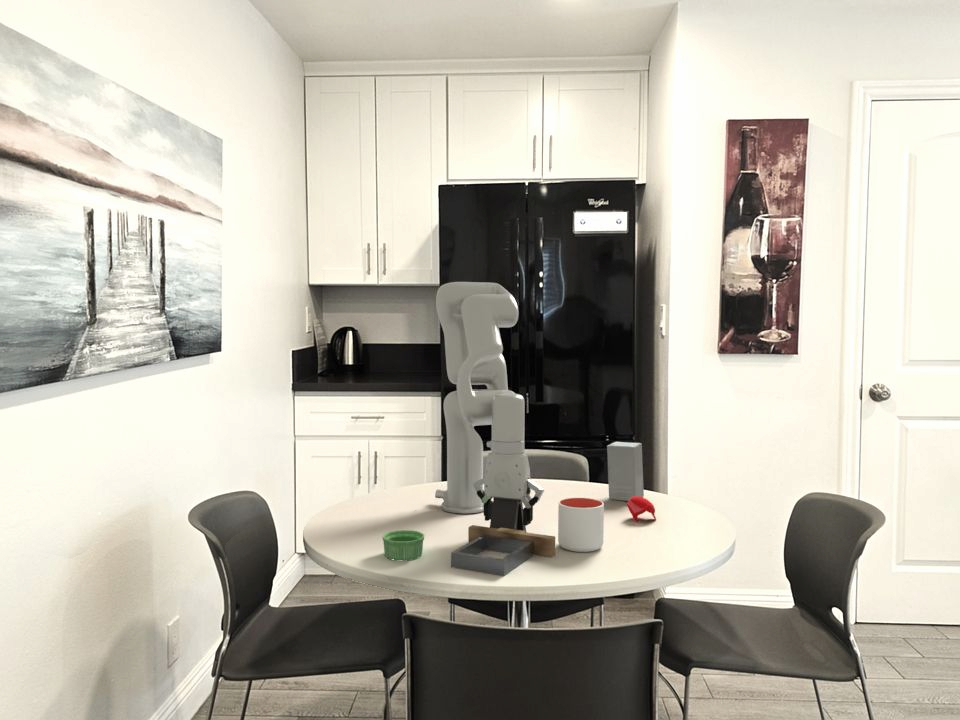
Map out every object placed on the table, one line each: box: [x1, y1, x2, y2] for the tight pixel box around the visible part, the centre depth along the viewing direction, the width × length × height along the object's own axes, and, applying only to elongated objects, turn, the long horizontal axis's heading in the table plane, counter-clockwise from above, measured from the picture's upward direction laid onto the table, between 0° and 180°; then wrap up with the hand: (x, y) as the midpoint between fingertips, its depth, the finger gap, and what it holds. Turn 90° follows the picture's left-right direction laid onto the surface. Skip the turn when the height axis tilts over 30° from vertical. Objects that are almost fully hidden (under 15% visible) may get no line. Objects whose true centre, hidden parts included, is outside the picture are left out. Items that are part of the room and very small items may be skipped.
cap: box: [626, 496, 657, 523], centre depth 199 cm, size 8×6×6 cm
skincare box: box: [606, 441, 645, 502], centre depth 221 cm, size 8×7×16 cm
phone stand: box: [489, 497, 527, 532], centre depth 182 cm, size 9×6×12 cm, turn 155°
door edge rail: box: [467, 524, 556, 558], centre depth 174 cm, size 20×2×4 cm, turn 64°
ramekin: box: [382, 529, 425, 561], centre depth 170 cm, size 9×9×4 cm
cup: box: [557, 497, 605, 553], centre depth 176 cm, size 10×10×10 cm
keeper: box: [450, 534, 534, 577], centre depth 166 cm, size 12×15×3 cm
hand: (507, 521), depth 182 cm, fingers open, 9 cm apart
